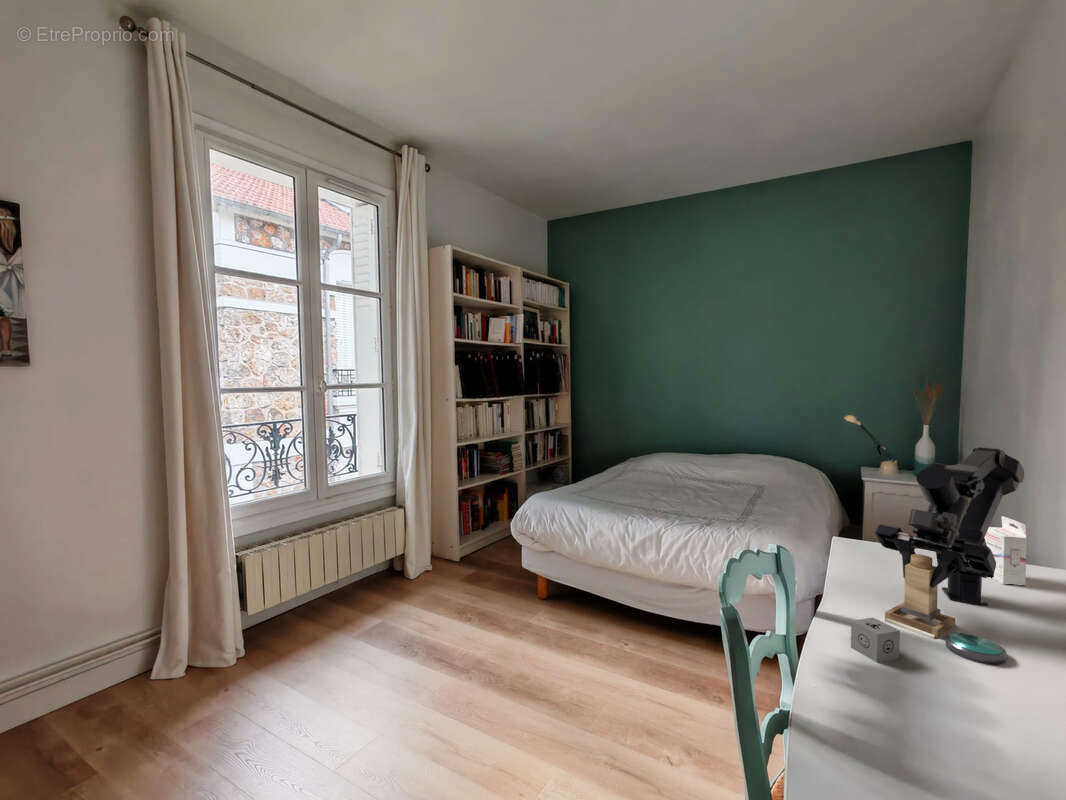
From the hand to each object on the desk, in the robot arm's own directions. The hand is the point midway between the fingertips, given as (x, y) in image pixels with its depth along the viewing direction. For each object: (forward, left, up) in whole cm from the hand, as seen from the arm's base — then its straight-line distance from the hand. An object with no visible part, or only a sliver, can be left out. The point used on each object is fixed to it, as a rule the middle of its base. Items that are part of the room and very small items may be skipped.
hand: (918, 582), depth 98 cm
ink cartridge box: (-38, +25, -9) cm, 46 cm away
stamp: (-1, +1, -6) cm, 7 cm away
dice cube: (+16, -9, -9) cm, 21 cm away
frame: (-1, +1, -8) cm, 8 cm away
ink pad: (+8, +7, -8) cm, 13 cm away
